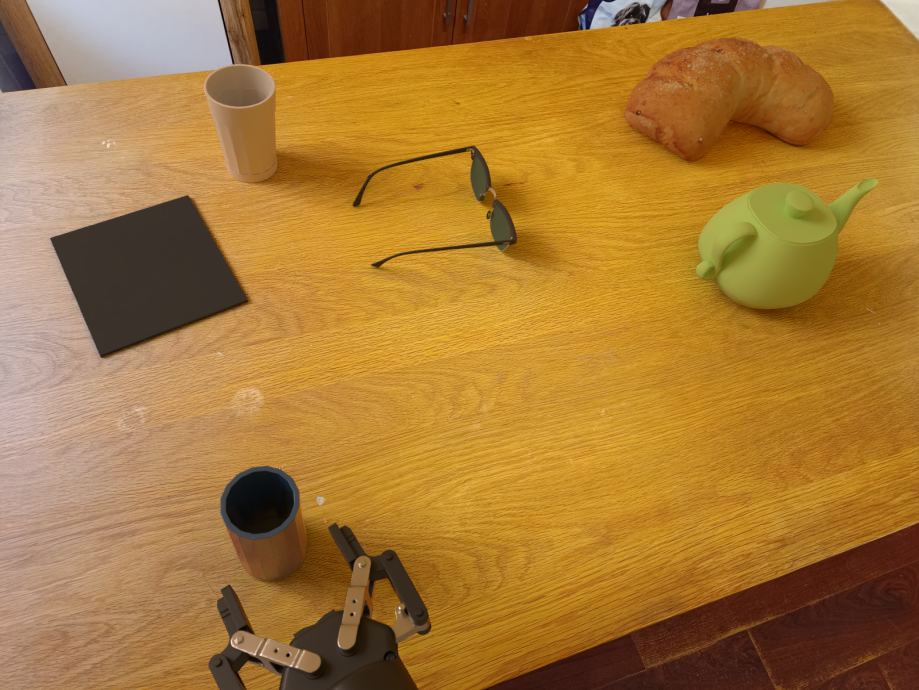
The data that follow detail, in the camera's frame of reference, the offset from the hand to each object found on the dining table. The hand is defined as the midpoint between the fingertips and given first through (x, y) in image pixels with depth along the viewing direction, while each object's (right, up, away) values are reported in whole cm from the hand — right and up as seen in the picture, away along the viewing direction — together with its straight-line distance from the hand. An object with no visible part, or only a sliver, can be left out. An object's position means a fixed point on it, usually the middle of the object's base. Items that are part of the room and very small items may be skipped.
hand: (281, 559), depth 55 cm
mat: (-22, +24, +28) cm, 43 cm away
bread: (+52, +51, +57) cm, 92 cm away
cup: (-13, +39, +40) cm, 57 cm away
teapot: (+51, +25, +39) cm, 69 cm away
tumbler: (-4, -3, +13) cm, 13 cm away
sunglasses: (+9, +31, +37) cm, 49 cm away
